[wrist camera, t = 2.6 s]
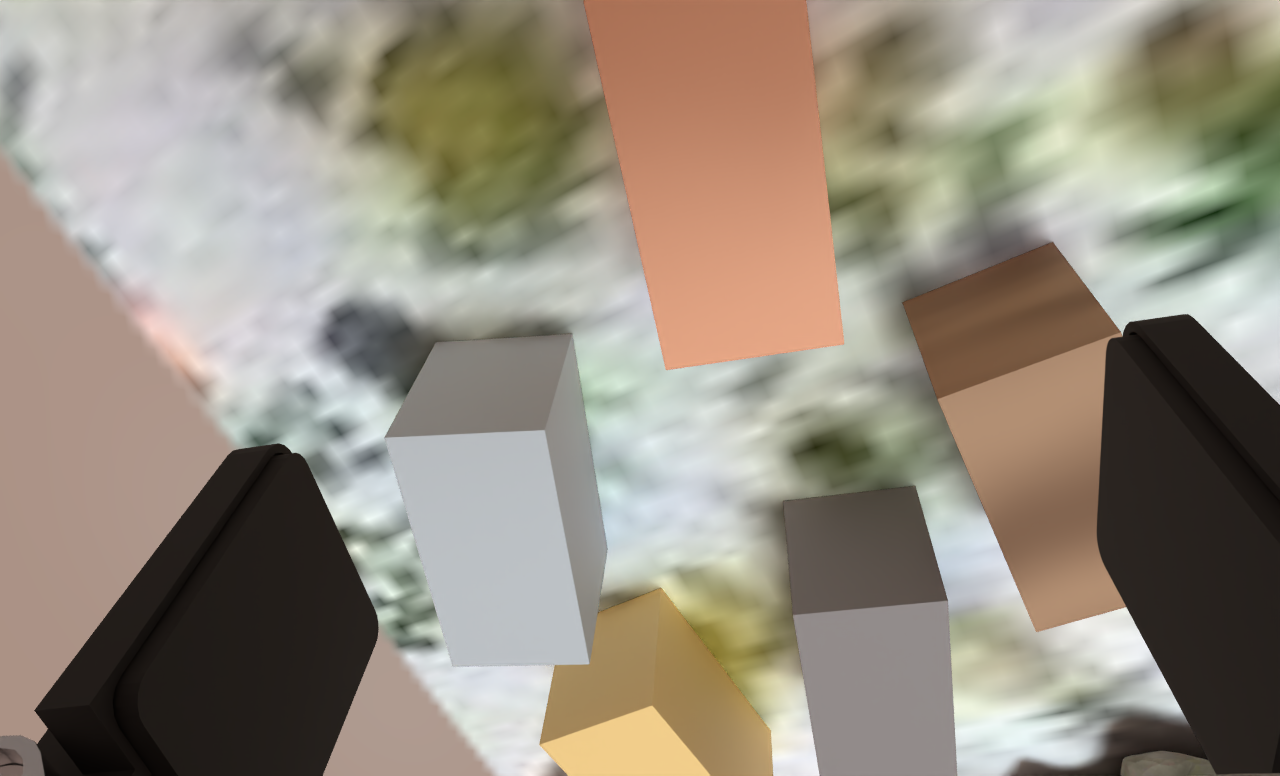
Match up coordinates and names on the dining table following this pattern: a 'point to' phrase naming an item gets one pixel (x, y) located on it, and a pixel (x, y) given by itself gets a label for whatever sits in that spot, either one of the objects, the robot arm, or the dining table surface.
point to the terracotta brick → (722, 172)
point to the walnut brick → (1028, 419)
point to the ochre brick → (651, 703)
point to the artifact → (1165, 765)
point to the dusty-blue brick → (504, 499)
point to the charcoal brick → (872, 634)
